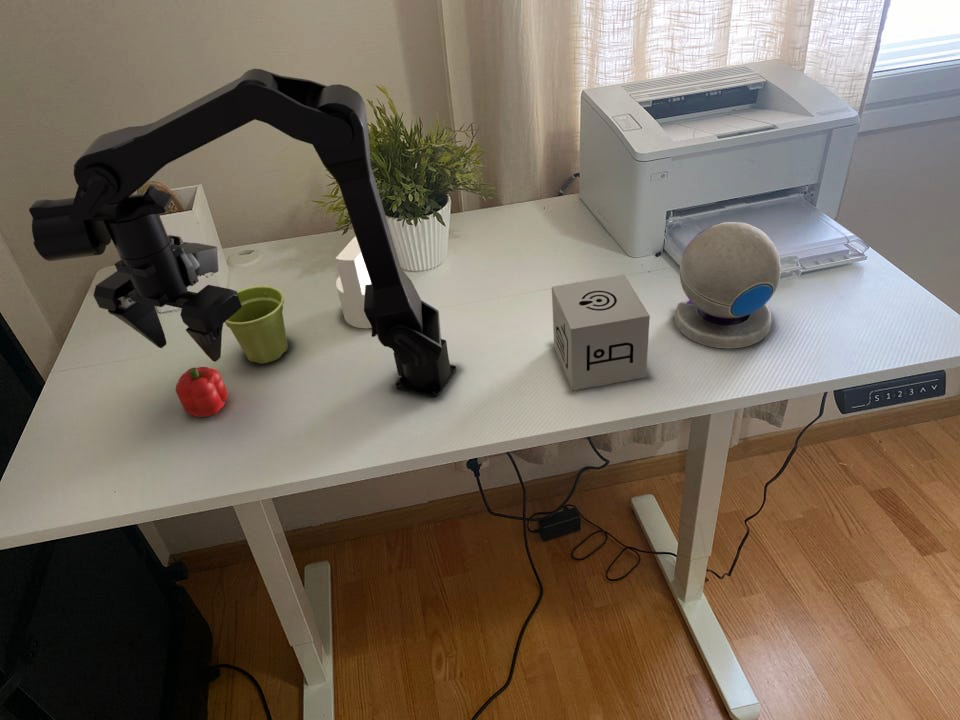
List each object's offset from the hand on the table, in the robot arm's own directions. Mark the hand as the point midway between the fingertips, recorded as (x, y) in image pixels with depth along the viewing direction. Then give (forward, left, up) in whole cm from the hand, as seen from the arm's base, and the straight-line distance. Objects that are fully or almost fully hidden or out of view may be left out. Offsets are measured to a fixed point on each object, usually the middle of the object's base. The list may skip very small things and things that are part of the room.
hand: (189, 352), depth 95 cm
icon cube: (-47, -26, -10) cm, 54 cm away
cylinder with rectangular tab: (-10, -27, -10) cm, 30 cm away
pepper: (0, 0, -9) cm, 9 cm away
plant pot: (0, -13, -10) cm, 16 cm away
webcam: (-61, -40, -10) cm, 73 cm away
